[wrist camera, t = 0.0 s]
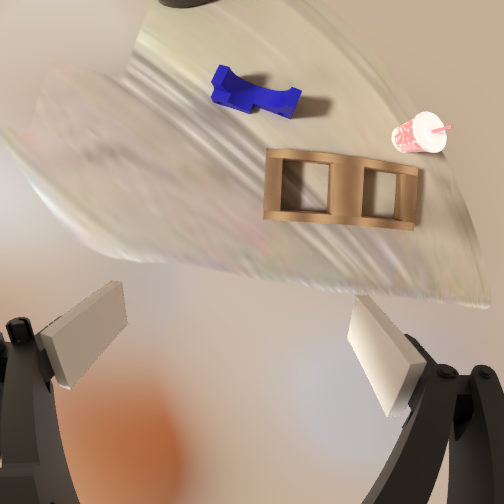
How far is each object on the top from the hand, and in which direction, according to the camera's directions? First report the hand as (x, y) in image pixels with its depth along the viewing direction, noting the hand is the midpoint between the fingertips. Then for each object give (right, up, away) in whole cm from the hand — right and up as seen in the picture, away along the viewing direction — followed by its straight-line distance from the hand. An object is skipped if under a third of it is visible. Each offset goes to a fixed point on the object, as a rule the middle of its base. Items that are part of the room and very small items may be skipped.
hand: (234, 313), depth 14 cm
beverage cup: (+26, +22, +23) cm, 41 cm away
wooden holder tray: (+15, +13, +26) cm, 32 cm away
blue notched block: (+1, +26, +23) cm, 35 cm away
